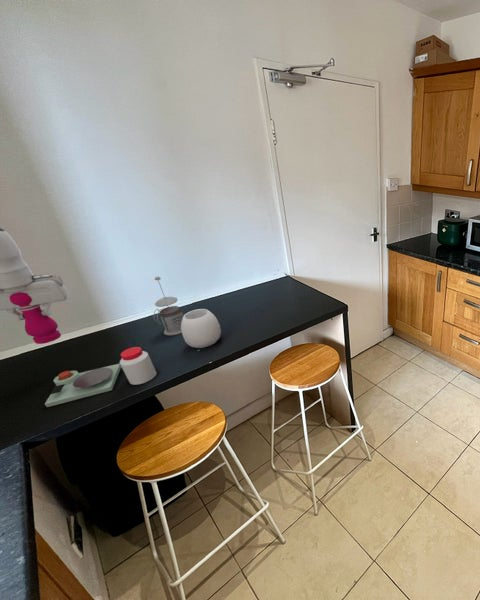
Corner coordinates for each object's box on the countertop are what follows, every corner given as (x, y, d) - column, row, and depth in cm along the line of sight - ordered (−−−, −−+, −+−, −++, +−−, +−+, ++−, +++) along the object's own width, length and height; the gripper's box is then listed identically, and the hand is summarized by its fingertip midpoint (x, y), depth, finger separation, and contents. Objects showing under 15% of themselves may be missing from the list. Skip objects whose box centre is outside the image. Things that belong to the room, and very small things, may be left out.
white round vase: (229, 341, 129) (220, 313, 123) (194, 356, 120) (183, 326, 114) (215, 330, 137) (207, 303, 131) (182, 343, 128) (171, 314, 122)
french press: (195, 324, 141) (177, 273, 129) (173, 338, 131) (151, 284, 119) (177, 322, 143) (157, 271, 131) (153, 335, 133) (131, 282, 121)
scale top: (48, 397, 97) (47, 396, 96) (60, 378, 104) (60, 377, 104) (108, 382, 103) (108, 381, 103) (116, 365, 111) (115, 364, 110)
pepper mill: (48, 345, 103) (15, 290, 94) (26, 345, 103) (-9, 290, 94) (69, 333, 110) (40, 280, 101) (48, 333, 110) (17, 280, 101)
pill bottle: (136, 387, 105) (122, 361, 100) (124, 380, 108) (111, 354, 103) (161, 374, 111) (149, 349, 106) (149, 367, 114) (138, 342, 109)
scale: (44, 407, 97) (39, 400, 95) (61, 380, 108) (57, 373, 106) (112, 390, 104) (108, 383, 102) (121, 366, 115) (118, 359, 113)
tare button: (58, 381, 104) (56, 377, 103) (62, 376, 106) (59, 372, 105) (70, 378, 105) (68, 374, 104) (73, 373, 107) (71, 369, 107)
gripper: (61, 269, 104) (80, 306, 110) (-29, 280, 95) (-4, 320, 101) (53, 276, 99) (73, 314, 105) (-43, 288, 90) (-15, 329, 96)
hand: (35, 317), depth 103 cm, fingers closed on pepper mill, 4 cm apart
